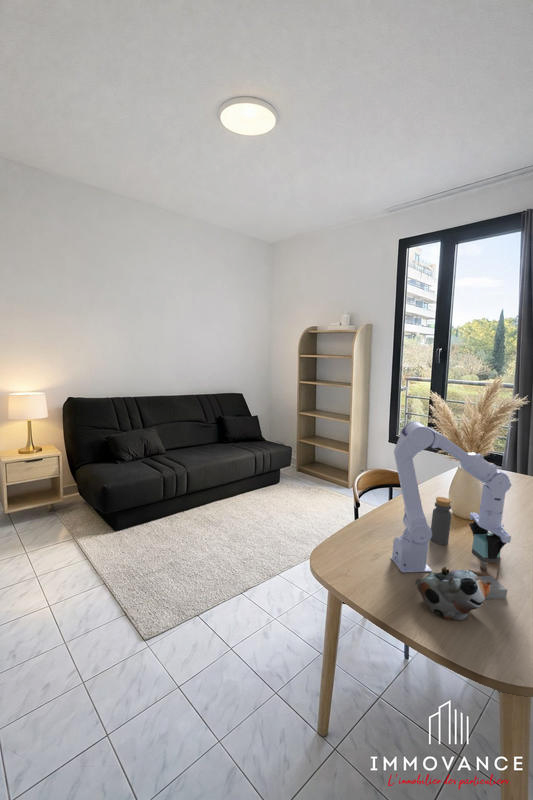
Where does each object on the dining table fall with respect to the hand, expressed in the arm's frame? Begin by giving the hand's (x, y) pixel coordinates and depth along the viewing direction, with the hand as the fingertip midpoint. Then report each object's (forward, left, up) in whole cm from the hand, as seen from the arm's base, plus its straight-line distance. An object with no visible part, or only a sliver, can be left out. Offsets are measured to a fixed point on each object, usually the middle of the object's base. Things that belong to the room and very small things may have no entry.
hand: (485, 552), depth 108 cm
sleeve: (0, 0, -1) cm, 1 cm away
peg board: (+4, +4, -7) cm, 9 cm away
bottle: (-2, +19, -7) cm, 20 cm away
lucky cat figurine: (-19, -13, -7) cm, 24 cm away
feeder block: (-4, -8, -7) cm, 11 cm away
